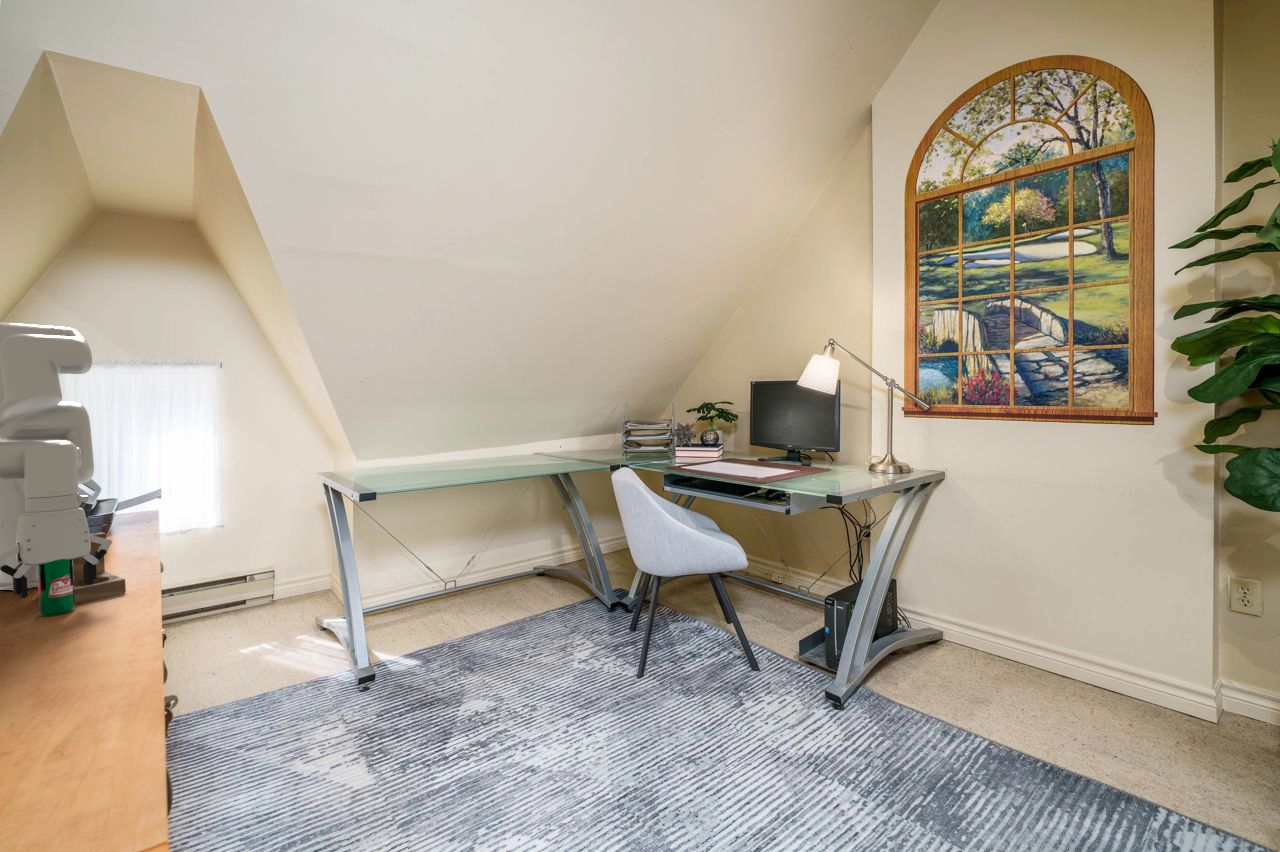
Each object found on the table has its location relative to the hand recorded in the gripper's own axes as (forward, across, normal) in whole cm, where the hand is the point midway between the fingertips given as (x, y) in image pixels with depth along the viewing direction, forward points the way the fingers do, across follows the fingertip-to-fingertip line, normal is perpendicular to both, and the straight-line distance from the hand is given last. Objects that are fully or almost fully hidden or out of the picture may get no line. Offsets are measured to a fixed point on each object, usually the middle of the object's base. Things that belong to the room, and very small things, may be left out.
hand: (56, 590), depth 117 cm
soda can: (+5, 0, 0) cm, 5 cm away
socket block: (+4, -7, -11) cm, 14 cm away
